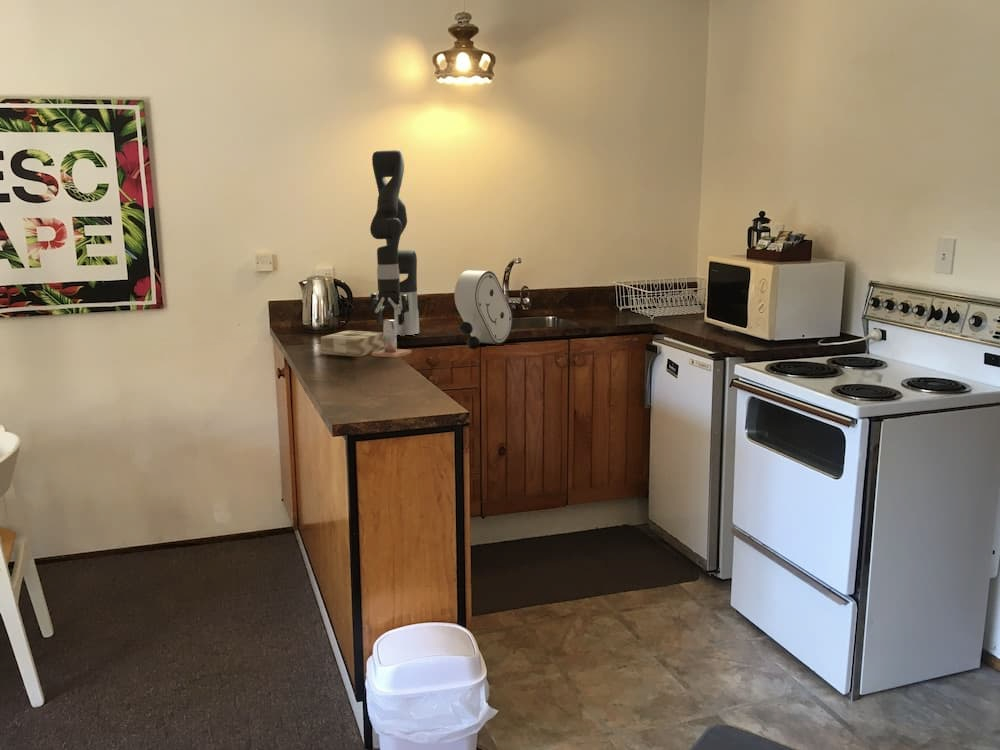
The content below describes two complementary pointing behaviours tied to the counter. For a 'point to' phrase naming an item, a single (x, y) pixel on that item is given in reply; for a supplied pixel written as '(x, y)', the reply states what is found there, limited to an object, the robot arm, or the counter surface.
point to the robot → (482, 308)
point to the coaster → (394, 354)
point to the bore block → (352, 343)
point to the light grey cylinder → (390, 335)
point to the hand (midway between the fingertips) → (390, 324)
